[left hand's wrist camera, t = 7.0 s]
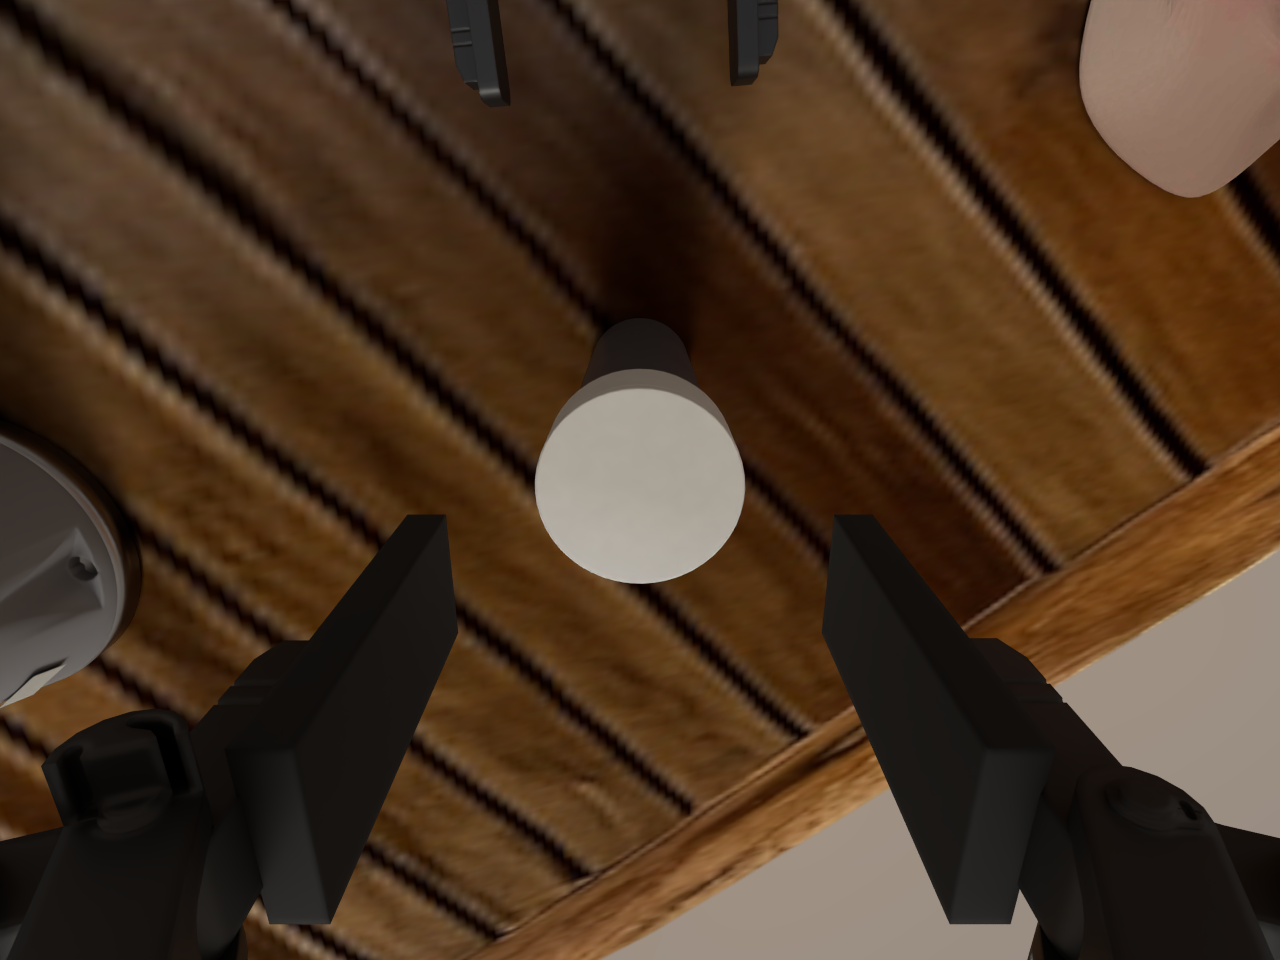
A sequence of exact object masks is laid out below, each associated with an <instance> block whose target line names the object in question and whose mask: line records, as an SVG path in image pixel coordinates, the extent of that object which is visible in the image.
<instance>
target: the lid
mask: <svg viewBox="0 0 1280 960" xmlns="http://www.w3.org/2000/svg"><path fill="white" fill-rule="evenodd" d="M744 493H745V475H744V470H743V464H742V460H741V457H740V454H739V451H738V449H737V447H736V444H735V442H734V439H733V437H732V435H731V432H730V430H729V428H728V425H727V423H726V421H725V419H724V417H723V415H722V414H721V412H720V411H719V409H718V408H717V406H716V405H715V404H714V402H713V401H712V400H711V399H710V398H709V397H708V396H707V395H706V394H705V393H704V392H702V391H701V390H700V389H699V388H698V387H696V386H695V385H693V384H691V383H690V382H688V381H687V380H684V379H682V378H680V377H678V376H676V375H673V374H670V373H666V372H663V371H657V370H652V369H630V370H622V371H618V372H613V373H610V374H607V375H605V376H602V377H600V378H598V379H596V380H594V381H592V382H590V383H588V384H587V385H585V386H584V387H583V388H581V389H580V390H579V391H577V392H576V393H575V394H574V395H573V396H572V397H571V398H570V399H569V400H568V401H567V403H566V404H565V405H564V406H563V407H562V409H561V411H560V412H559V414H558V415H557V417H556V419H555V421H554V423H553V426H552V428H551V430H550V433H549V435H548V437H547V440H546V442H545V444H544V447H543V449H542V452H541V454H540V457H539V461H538V464H537V469H536V477H535V494H536V501H537V506H538V510H539V513H540V517H541V519H542V521H543V523H544V526H545V528H546V530H547V531H548V533H549V535H550V536H551V538H552V539H553V541H554V542H555V543H556V544H557V546H558V547H559V548H560V549H561V550H562V551H563V552H564V553H565V554H566V555H567V556H568V557H569V558H570V559H571V560H573V561H574V562H576V563H577V564H578V565H580V566H581V567H583V568H585V569H587V570H588V571H590V572H592V573H594V574H597V575H599V576H602V577H604V578H608V579H611V580H615V581H620V582H627V583H654V582H660V581H665V580H669V579H672V578H675V577H678V576H681V575H683V574H686V573H688V572H690V571H692V570H694V569H695V568H697V567H699V566H700V565H702V564H703V563H705V562H706V561H707V560H708V559H710V558H711V557H712V556H713V555H714V554H715V553H716V552H717V551H718V550H719V549H720V548H721V547H722V546H723V545H724V543H725V542H726V541H727V539H728V538H729V537H730V535H731V533H732V531H733V530H734V528H735V526H736V524H737V521H738V519H739V516H740V514H741V510H742V506H743V502H744Z"/></svg>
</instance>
